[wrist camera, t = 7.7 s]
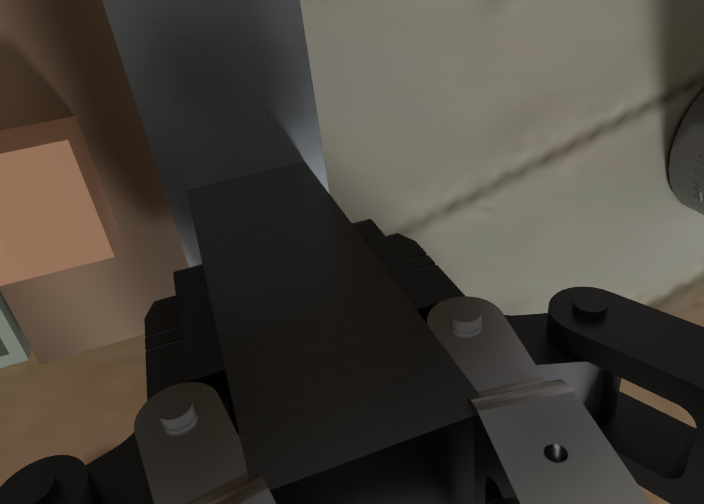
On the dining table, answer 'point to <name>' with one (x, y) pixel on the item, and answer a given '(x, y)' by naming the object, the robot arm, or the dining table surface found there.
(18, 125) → the brown slab
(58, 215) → the tile
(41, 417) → the dining table surface
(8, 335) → the box
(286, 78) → the scraper
